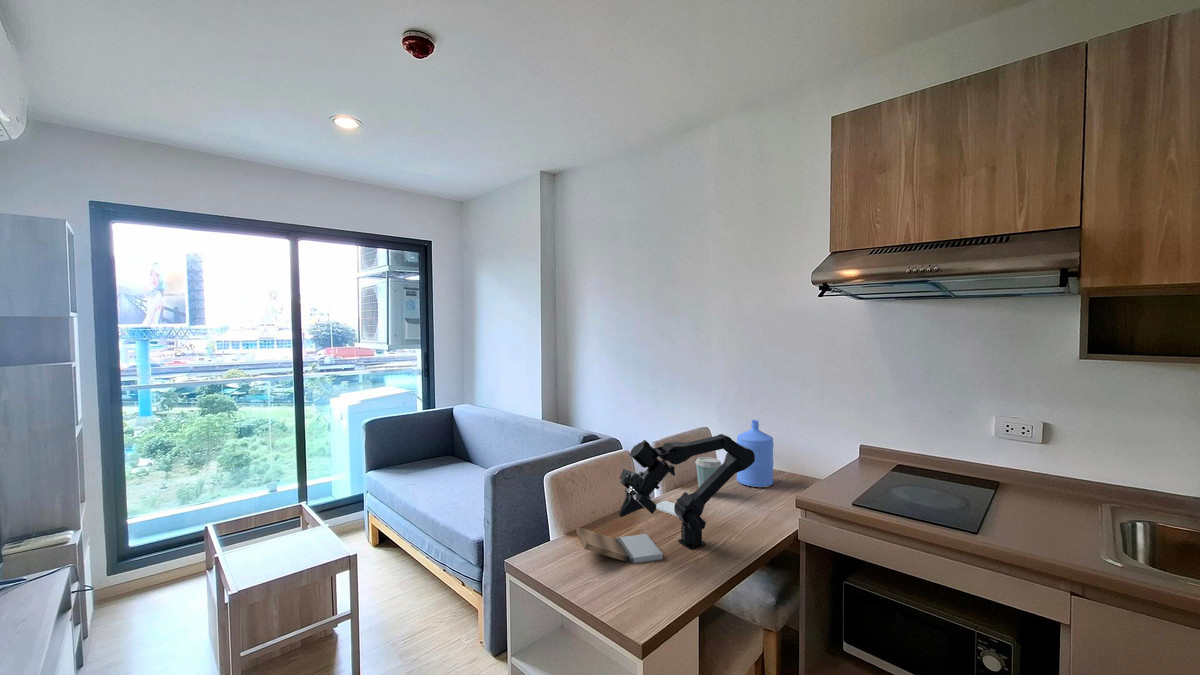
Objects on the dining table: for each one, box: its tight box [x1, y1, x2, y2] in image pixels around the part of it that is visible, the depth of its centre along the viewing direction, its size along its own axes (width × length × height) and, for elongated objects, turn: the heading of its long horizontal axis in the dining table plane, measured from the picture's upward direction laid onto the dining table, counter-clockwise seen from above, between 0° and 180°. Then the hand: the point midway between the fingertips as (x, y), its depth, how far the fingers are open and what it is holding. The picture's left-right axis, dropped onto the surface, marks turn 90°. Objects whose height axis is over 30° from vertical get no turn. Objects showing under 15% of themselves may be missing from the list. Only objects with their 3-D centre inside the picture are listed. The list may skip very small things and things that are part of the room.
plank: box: [575, 526, 629, 563], centre depth 142 cm, size 14×12×2 cm
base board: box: [616, 533, 664, 564], centre depth 145 cm, size 10×14×2 cm
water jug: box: [736, 419, 774, 487], centre depth 208 cm, size 16×16×28 cm
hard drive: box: [655, 499, 679, 518], centre depth 178 cm, size 2×8×12 cm
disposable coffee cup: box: [694, 456, 722, 488], centre depth 194 cm, size 11×11×15 cm
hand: (619, 515), depth 143 cm, fingers closed
